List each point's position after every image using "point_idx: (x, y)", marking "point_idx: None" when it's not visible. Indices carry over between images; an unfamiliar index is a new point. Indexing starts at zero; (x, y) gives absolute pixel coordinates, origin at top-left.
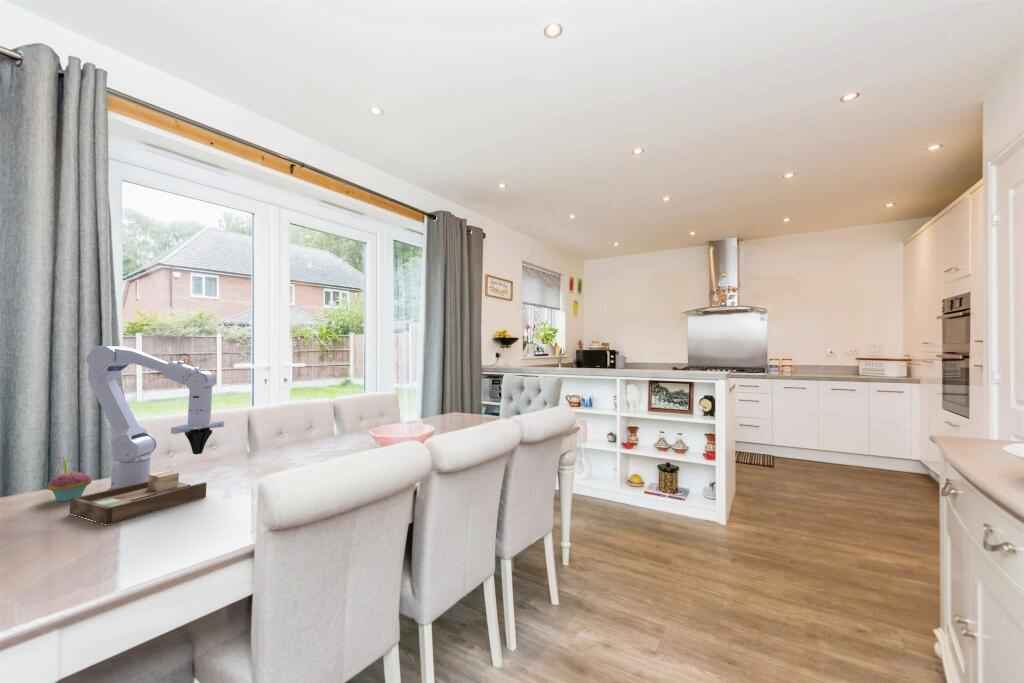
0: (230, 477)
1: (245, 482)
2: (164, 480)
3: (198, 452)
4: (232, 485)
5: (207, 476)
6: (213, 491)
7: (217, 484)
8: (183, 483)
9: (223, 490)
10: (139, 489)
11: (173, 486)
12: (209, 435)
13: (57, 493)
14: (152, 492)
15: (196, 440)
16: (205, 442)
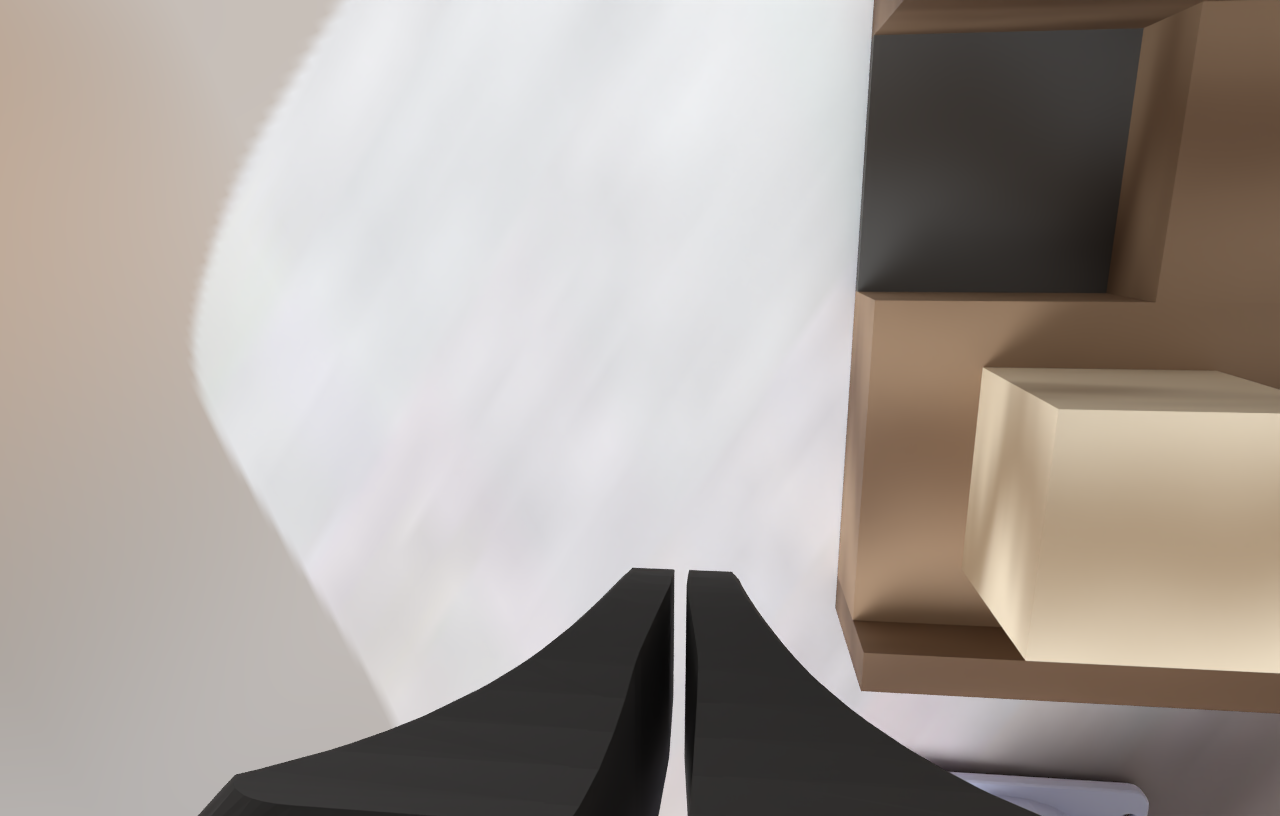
0: (301, 454)
1: (319, 117)
2: (1228, 398)
3: (713, 578)
4: (463, 142)
5: (405, 688)
6: (705, 116)
7: (521, 334)
8: (876, 423)
9: (630, 45)
10: None
11: (1046, 368)
12: (374, 748)
13: None
14: (1277, 385)
15: (875, 728)
16: (548, 654)
